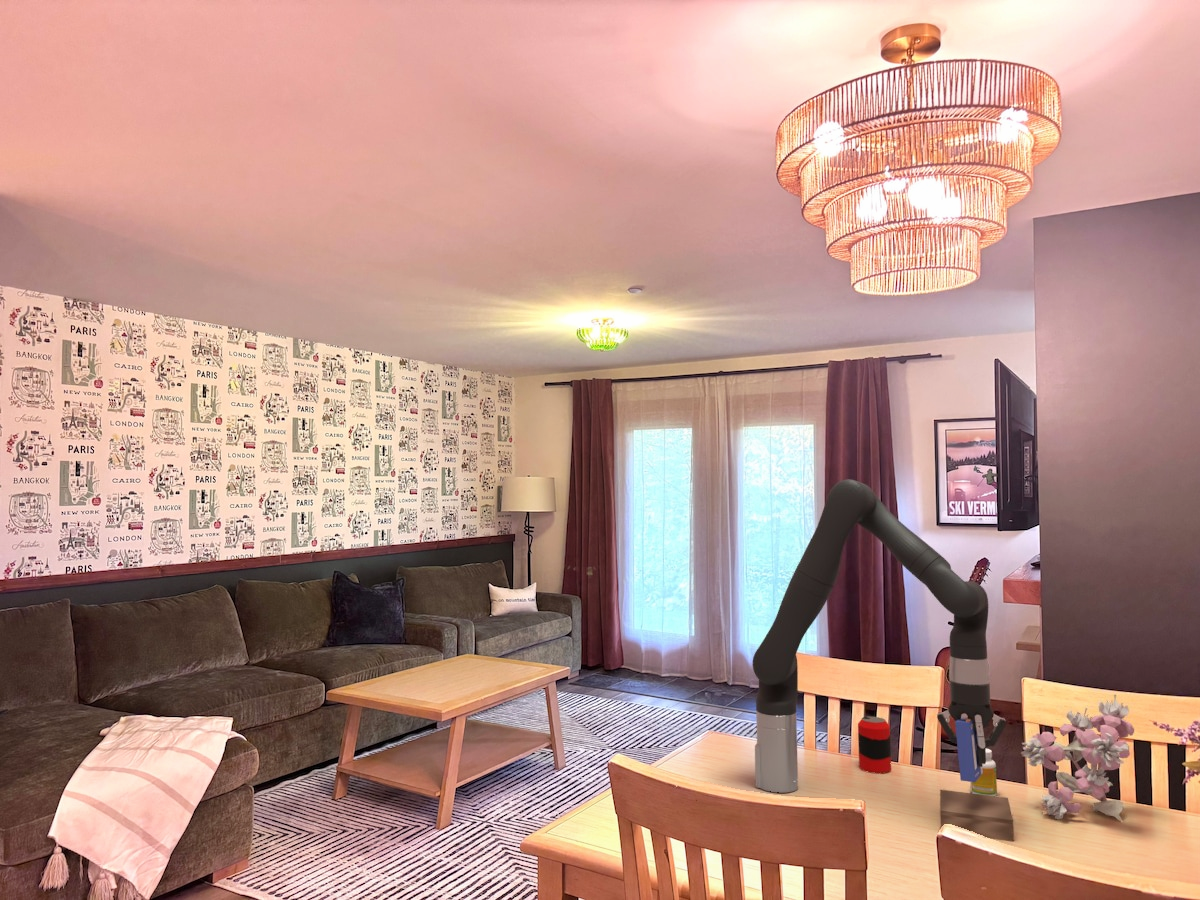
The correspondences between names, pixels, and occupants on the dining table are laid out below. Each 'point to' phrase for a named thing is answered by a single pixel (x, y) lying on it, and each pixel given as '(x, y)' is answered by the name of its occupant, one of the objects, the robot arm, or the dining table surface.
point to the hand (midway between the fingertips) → (972, 764)
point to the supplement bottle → (986, 778)
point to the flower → (1093, 752)
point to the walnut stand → (977, 813)
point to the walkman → (967, 751)
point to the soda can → (874, 745)
